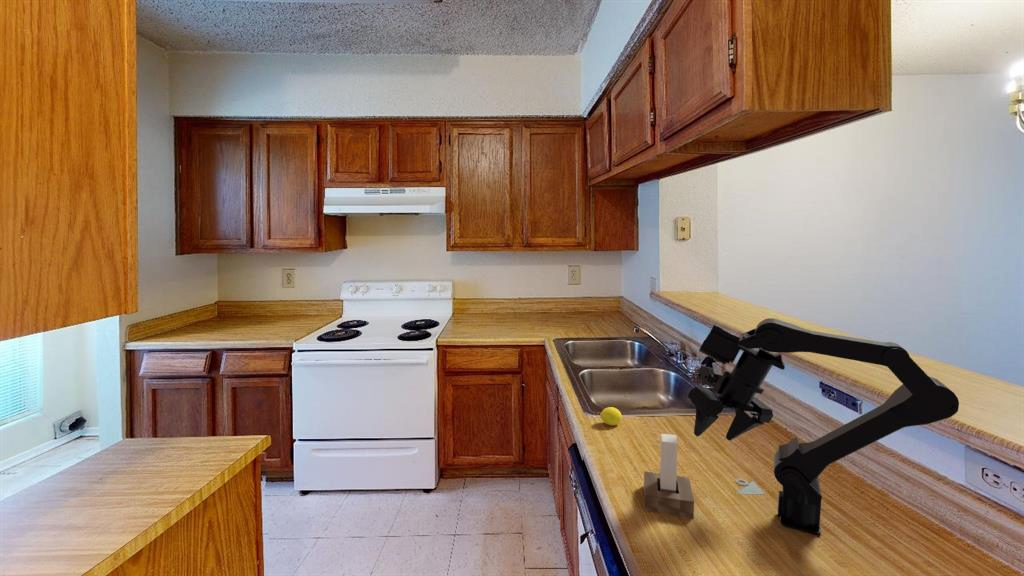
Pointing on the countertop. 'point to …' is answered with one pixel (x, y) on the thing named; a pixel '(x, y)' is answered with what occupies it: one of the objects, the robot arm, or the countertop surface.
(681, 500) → the post base
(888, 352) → the robot arm
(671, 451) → the rail post
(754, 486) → the grey triangular pendant
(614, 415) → the lemon
